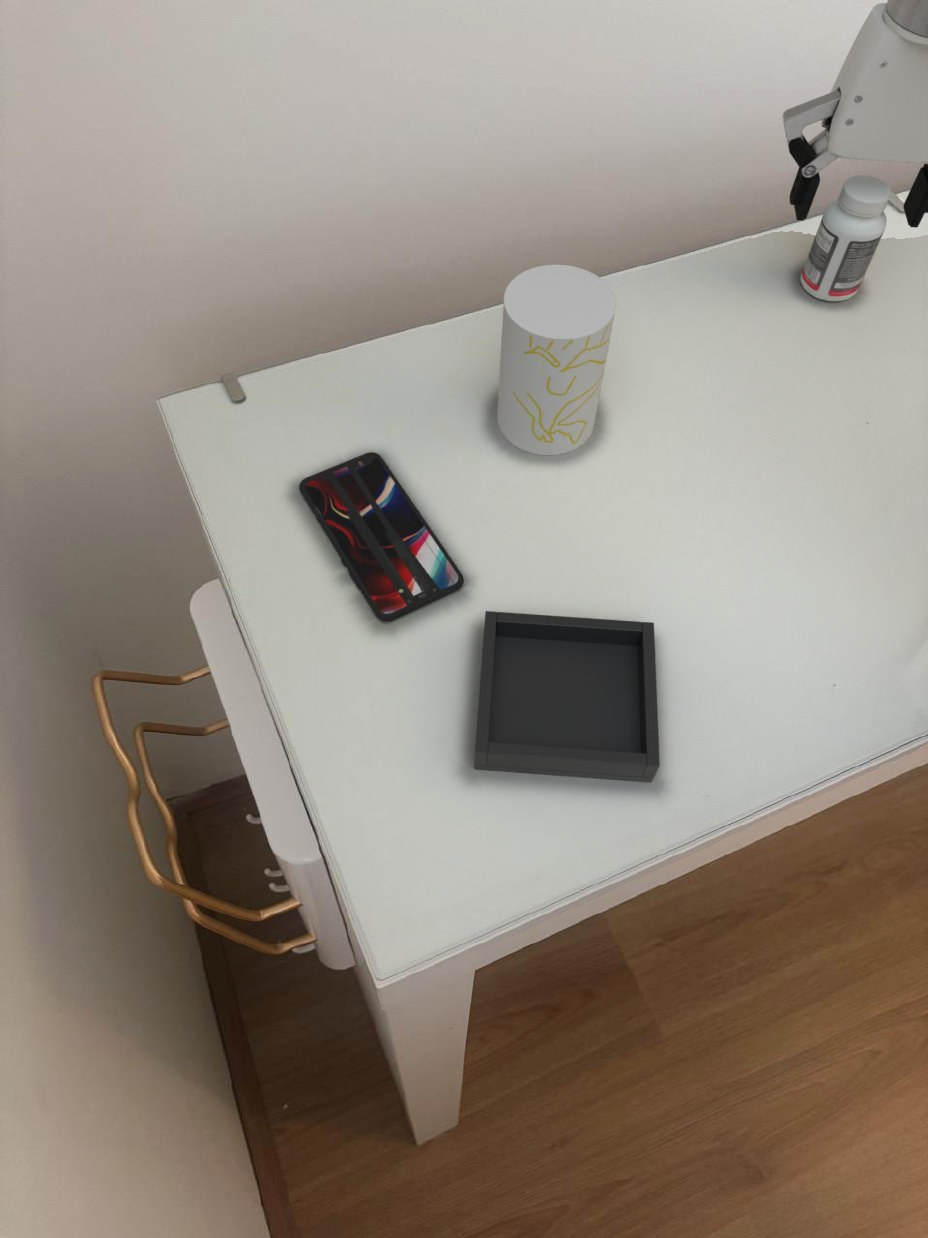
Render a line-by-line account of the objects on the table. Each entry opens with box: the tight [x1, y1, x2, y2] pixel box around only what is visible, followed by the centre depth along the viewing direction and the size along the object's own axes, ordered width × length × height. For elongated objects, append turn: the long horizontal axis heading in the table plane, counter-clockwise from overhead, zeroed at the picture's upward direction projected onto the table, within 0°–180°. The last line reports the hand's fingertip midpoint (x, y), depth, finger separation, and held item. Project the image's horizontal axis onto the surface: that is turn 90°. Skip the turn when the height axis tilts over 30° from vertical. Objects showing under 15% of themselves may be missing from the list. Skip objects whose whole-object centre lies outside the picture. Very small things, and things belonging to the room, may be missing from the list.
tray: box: [473, 610, 661, 783], centre depth 61 cm, size 12×11×3 cm
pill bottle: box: [799, 174, 892, 302], centre depth 82 cm, size 5×5×10 cm
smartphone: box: [298, 451, 465, 623], centre depth 70 cm, size 7×1×15 cm
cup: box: [496, 264, 617, 456], centre depth 72 cm, size 8×8×12 cm
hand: (854, 214), depth 80 cm, fingers open, 9 cm apart
